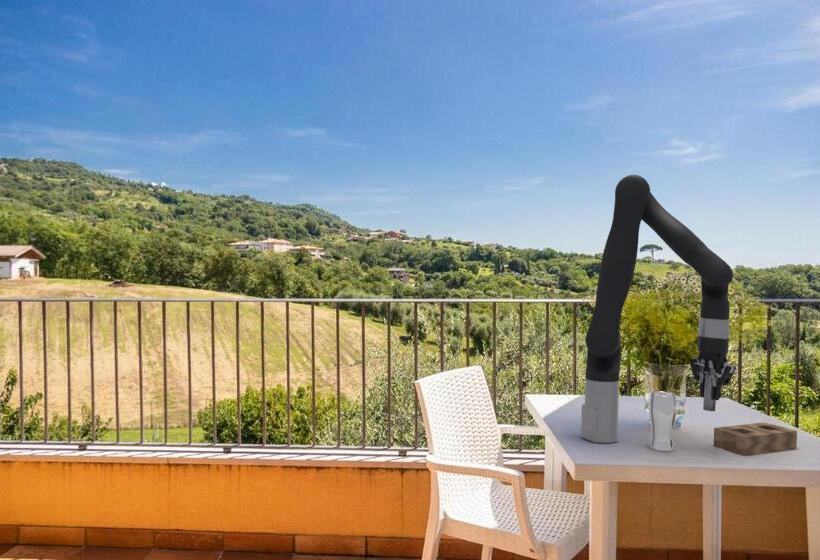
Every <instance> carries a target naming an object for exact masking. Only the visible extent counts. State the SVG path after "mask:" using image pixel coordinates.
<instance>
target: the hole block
mask: <svg viewBox="0 0 820 560" xmlns="http://www.w3.org/2000/svg"><path fill="white" fill-rule="evenodd" d="M797 440H798V430H795V429H792V428H787V427H784V426H780V425H776V424H772V423H769V422H765V421H764V422H755V423H754V422H753V423H746V424H738V425H728V426H719V427H714V428H713V447H716V448H719V449H722V450H725V451H729V452H731V453H734V454H739V455H741V456H744V455H745V456H744V457H747V456H746V455H748V456H754V455H753V454H755V455H760V454H759V453H763V454H767V453H766V452H770V453H774V452H773V451H777V452H780V451H779V450H784V451H787V450H786V449H791V450H796V449H795V448H797V445H798V444H797V442H798V441H797ZM797 449H798V448H797Z"/></svg>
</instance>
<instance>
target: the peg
mask: <svg viewBox="0 0 820 560" xmlns="http://www.w3.org/2000/svg"><path fill="white" fill-rule="evenodd" d="M715 374H716V375H717V374H718V373H715ZM712 386H713V383H712V378H711V376H710V372H706V373H705V385H704V397H703V401H702V402H703V405H702V406H703V407H702V410H704V411H708V412H716V408H717V407H716V405H717V404H716V402H717V400H712V399H711V395H712Z"/></svg>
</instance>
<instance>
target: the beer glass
mask: <svg viewBox="0 0 820 560" xmlns="http://www.w3.org/2000/svg"><path fill="white" fill-rule="evenodd" d="M677 407H678V406H677V394H675V393H673V392H668V391H657V390H656V391H655V390H654V391H651V392H650V394H649V405H648V414H649V423H650V429H651V437H650V443H649V448H650V449H652V450H655V451H658V452H672V451H674V449H675V447H674V441H673V434H674V429H675V424H676V420H677V418H676V417H677V411H678V409H677Z"/></svg>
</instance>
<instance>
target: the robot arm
mask: <svg viewBox="0 0 820 560" xmlns="http://www.w3.org/2000/svg"><path fill="white" fill-rule="evenodd" d="M612 215H613V216H612V223H611V227H610V230H609V232H608V235H607V239H606V241H605V245H604V249H603V251H602V254H601V255H602V256H601V261H600V266H599V270H598V271H599V273H598V277H597V278H598V279H597V285H596V293H595V296H596V297H595V304H594V309H593V313H592V317H591V320H590V322H589V326H588V329H587V331H586V335H585V346H586V348H587V350H586V351H587V353H586V366H585V378H584V379H585V382H584V384H585V387H584V404H582V405H581V424H580V425H581V427H580V428H581V429H580V438H582V439H585V440H587V441H589V442H592V443H600V444H611V443H616V442H617V441H618V433H619V432H618V428H619V401H620V400H619V398H620V397H619V393H620V372H621V371H620V370H621V354H622V353H621V351H622V350H621V348H622V346H621V345H622V339H621V338H622V336H621V333H620V328H621V317H622V312H623V309H624V305H625V302H626V300H627V297H628V295H629V291H630V290H631V287H632V283H633V278H634V275H635V269H636V264H637V259H638V249H639V237H640V234H639V233H640V227H641V222H642V221H643V223H645V224H646V225H647V226H648V227H649V228H650V229H651V230H652V231H654V232H655V234H657V236H658V237H659V238H660V239H661V240H662V241H663V242H664V244H666V246H668V248H669V249H670V250H671V251H673V252H674V254H675V255H677V256H678V257H679V259H681V260H682V261H683V262H684V263H686V264H687V265H689V266H690V267H691V268H692V269H693V270H694V271H695V272H696V273H697V274H698V275H699V276H700V277H701V278H700V283H701V284H700V285H701V287H700V289H701V303H700V317H699V324H698V331H697V333H698V335H697V347H696V348H697V351H698V354H697V356H696V357H695V358H689V359H688V361H689V365H690V369H691V373H692V375H693V379H694V380H696V381H698V382H699V394H700V397H701V398H704V385H705V373H706V372H710V376H711V378H712V383H713V386H712V395H711V399H712V400H716V401H719V400H720V399H721V395H722V387H724V386H728V385H729V384H730V382H731V380H732V377H734V375H735V374H734V373H735V372H736V370H737V369H736V368H737V367H736V366H735V365H731V364H730V363H729V362H728V359H727V355H728V353H729V345H730V344H729V342H730V341H729V339H730V306H731V305H730V300H729V285H730V284H731V282H732V280H733V278H734V271H733V269H732V268H731V266H730V265H729V264H728V263H727V262H726V261H725V260H724V259H722V258H721V257H720V256H719V255H717V254H716V253H715V252H714V251H712V250H711V249H710V248H709V247H708V246H707V244H705V243H704V242H703V241H702V240H701V239H700V238H699V237H698V236H697V235H696V234H695V232H693V231H692V230H690V228H688V227H687V226H686V225H685V224H684V223H682V222H681V221H680V220H679V219H677V218H676V217H675V216H673V215H672V214H671V213H670V212H668V211H667V210H666V209H665V208H664V207H663V206H662V205H661V204H660V202H658V200H657V199H656V197H655V196H654V195H653V193H652V192H651V187H650V184H649V182H648V181H647V179H645V178H644V177H643V176H642V175H638V174H629V175H627V176H625V177H623V178H621V179H620V180H619V181H618V183H617V184H616V187H615V189H614V209H613V214H612ZM715 373H716V374H717V375H716V374H715Z"/></svg>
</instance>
